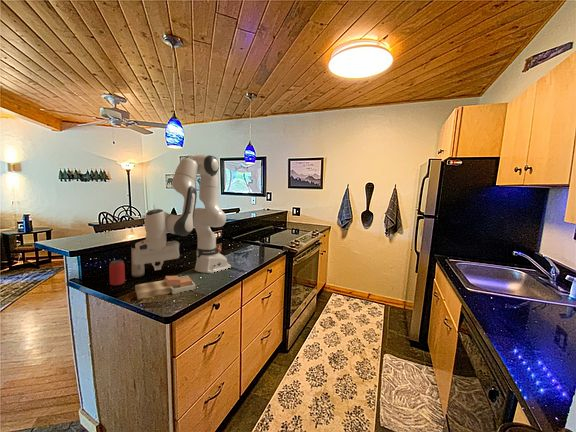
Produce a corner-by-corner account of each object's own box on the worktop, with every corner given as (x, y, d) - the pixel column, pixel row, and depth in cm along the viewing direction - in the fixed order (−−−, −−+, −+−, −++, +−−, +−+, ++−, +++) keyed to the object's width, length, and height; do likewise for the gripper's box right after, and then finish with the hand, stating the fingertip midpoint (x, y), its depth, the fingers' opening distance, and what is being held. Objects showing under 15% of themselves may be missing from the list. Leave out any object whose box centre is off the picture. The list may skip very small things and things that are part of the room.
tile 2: (188, 282, 133) (188, 276, 132) (192, 286, 128) (192, 280, 128) (177, 284, 129) (177, 279, 129) (180, 288, 124) (180, 282, 124)
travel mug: (134, 272, 143) (134, 239, 140) (146, 273, 143) (146, 240, 141) (128, 276, 136) (128, 242, 134) (141, 277, 137) (140, 242, 135)
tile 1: (176, 281, 129) (177, 275, 129) (179, 285, 124) (180, 279, 124) (164, 281, 125) (165, 276, 125) (167, 285, 120) (168, 280, 120)
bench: (166, 285, 129) (166, 279, 128) (170, 293, 120) (170, 287, 120) (135, 290, 120) (134, 285, 120) (137, 299, 111) (137, 293, 111)
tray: (187, 279, 137) (187, 275, 137) (195, 289, 125) (195, 285, 125) (165, 283, 130) (165, 279, 130) (172, 294, 118) (172, 289, 118)
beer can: (117, 286, 124) (116, 264, 122) (106, 284, 125) (105, 262, 123) (128, 281, 130) (127, 260, 129) (117, 280, 131) (117, 258, 130)
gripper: (177, 238, 127) (178, 263, 129) (131, 244, 115) (133, 271, 117) (180, 241, 122) (181, 267, 124) (132, 247, 110) (134, 276, 112)
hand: (157, 269), depth 120 cm, fingers closed
